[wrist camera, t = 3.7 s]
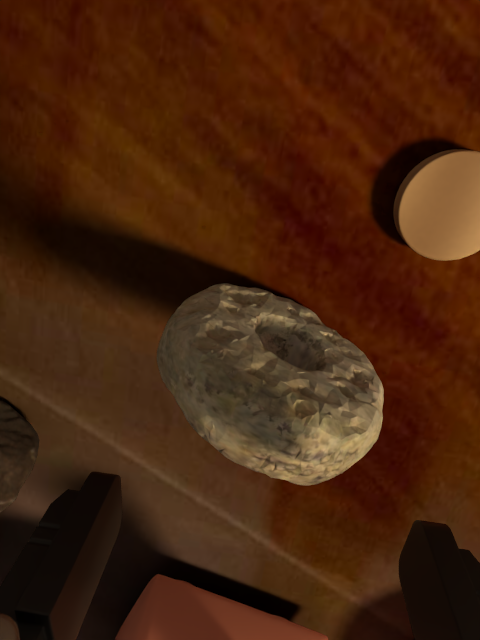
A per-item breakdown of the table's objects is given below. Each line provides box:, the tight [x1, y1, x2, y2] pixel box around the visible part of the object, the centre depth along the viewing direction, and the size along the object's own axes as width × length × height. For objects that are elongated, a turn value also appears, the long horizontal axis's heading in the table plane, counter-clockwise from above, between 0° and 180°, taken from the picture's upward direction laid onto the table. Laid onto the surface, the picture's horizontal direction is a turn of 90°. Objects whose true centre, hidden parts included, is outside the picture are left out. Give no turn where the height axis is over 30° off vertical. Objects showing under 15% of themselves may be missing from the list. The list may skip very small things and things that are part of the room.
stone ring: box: [157, 283, 384, 485], centre depth 18 cm, size 10×4×10 cm, turn 62°
